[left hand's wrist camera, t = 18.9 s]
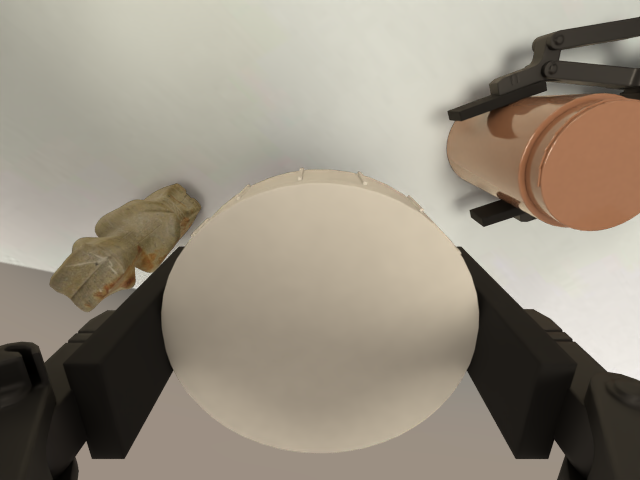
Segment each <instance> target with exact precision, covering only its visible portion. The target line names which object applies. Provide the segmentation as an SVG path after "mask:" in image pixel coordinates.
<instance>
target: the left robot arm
mask: <svg viewBox="0 0 640 480" xmlns="http://www.w3.org/2000/svg"><path fill="white" fill-rule="evenodd" d="M184 248H185V247H178V248H177V249H176V250H175V251H174V252H173V253H172V254H171V255H170V256H169V257H168V258H167V259H166V260H165V261H164V262H163V263H162V264H161V265H160V266H159V267H158V268H157V269H156V270H155V271H154V272H153V273H152V274H151V275H150V276H149V277H148V278H147V279H146V280H145V281H144V282H143V283H142V284H141V285H140V286H139V287H138V288H137V289H136V290H135V292H134V293H132V294H131V295H130V296H129V298H128V299H127V300H126V301H125V302H124V303H123V304H122V305H121V306H120V307H119V308H118V309H117V310H107V311H105V312H104V313H102V314H100V315H98V316H96V317H95V318H93V319H91V320H90V321H89V322H88V323H87V324H85V325H84V326H83V327H82V328H81V329H80V330H79V331H78V333H76V334H75V335H74V336H73V337H72V338H70V339H69V340H68V343H65V344H64V345H63V346H62V347H61V348H60V349H59V350H58V351H57V352H56V353H55V354H53V355H52V356H51V357H50V358H49V359H48V360H47V361H46V362H45V363H44V361H43V358H42V355H41V352H40V349H39V346H37V345H36V344H34V343H31V342H17V343H10V344H5V345H2V346H0V480H78V472H79V470H78V464H77V461H76V458H75V456H76V455H77V453H78V452H79V450H80V449H81V448H82V446H83V445H84V443H85V442H86V441H87V444H88V447H89V451H90V454H91V457H92V459H125V457H126V455H127V453H128V452H129V450H130V448H131V446H132V444H133V442H134V441H135V439H136V437H137V435H138V433H139V432H140V430H141V428H142V426H143V424H144V422H145V421H146V419H147V417H148V415H149V414H150V412H151V410H152V408H153V406H154V404H155V403H156V401H157V399H158V397H159V395H160V394H161V392H162V390H163V388H164V386H165V385H166V383H167V381H168V379H169V377H170V376H171V374H172V372H173V368H172V366H171V364H170V361H169V358H168V355H167V352H166V349H165V343H164V338H163V332H162V322H161V310H162V302H163V294H164V291H165V287H166V284H167V280H168V277H169V275H170V272H171V270H172V268H173V266H174V264H175V262H176V260H177V258H178V256H179V255H180V253H181V252H182V251H183V249H184ZM457 248H458V249H459V250H460V252H461V256H462V257H463V259H464V261H465V263H466V265H467V268H468V270H469V272H470V274H471V276H472V279H473V283H474V286H475V290H476V293H477V300H478V307H479V329H478V334H477V340H476V345H475V350H474V353H473V356H472V359H471V362H470V365H469V367H468V369H467V371H468V373H469V375H470V377H471V379H472V381H473V382H474V384H475V386H476V388H477V390H478V391H479V393H480V395H481V397H482V399H483V400H484V402H485V404H486V406H487V408H488V409H489V411H490V413H491V415H492V417H493V419H494V420H495V422H496V424H497V426H498V427H499V429H500V431H501V433H502V435H503V437H504V438H505V440H506V442H507V444H508V446H509V447H510V449H511V451H512V453H513V455H514V456H515V458H516V459H548V458H549V455H550V452H551V448H552V445H553V442H554V440H555V441H556V442H557V444H558V445H559V447H560V448H561V450H562V451H563V452H564V454H565V458H564V461H563V464H562V467H561V470H560V473H559V476H558V479H557V480H640V381H638V380H636V379H634V378H631V377H628V376H625V375H622V374H617V373H611V372H607V371H606V370H605V369H604V368H603V367H602V366H601V365H600V364H599V363H597V362H596V361H595V360H594V359H593V358H592V357H591V356H590V355H589V354H588V353H587V352H586V351H585V350H583V349H582V348H581V347H580V346H579V345H578V344H577V343H576V342H573V341H572V338H571V337H569V336H568V335H567V334H566V333H565V332H562V329H561V328H560V327H559V326H558V325H557V324H555V323H554V322H553V321H552V320H551V319H550V318H548V317H546V316H544V315H543V314H541V313H539V312H537V311H535V310H534V309H523V308H522V307H521V306H520V305H519V304H518V303H517V302H516V301H515V300H514V299H513V298H512V297H511V296H510V295H509V294H508V293H507V292H506V291H505V290H504V289H503V288H502V287H501V286H500V285H499V284H498V283H497V282H496V281H495V280H494V279H493V278H492V277H491V276H490V275H489V274H488V273H487V272H486V271H485V270H484V269H483V268H482V267H481V266H480V265H479V264H478V263H477V262H476V261H475V260H474V259H473V258H472V257H471V256H470V255H469V254H468V253H467V252H466V251H465V250H464V249H463V248H462V247H457Z"/></svg>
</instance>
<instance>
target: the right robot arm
mask: <svg viewBox="0 0 640 480" xmlns="http://www.w3.org/2000/svg"><path fill="white" fill-rule="evenodd" d="M638 36H640V17H637V18H631V19H625V20H619V21H613V22H607V23H602V24H596V25H590V26H584V27H578V28H572V29H566V30H560V31H557V32H553V33H550V34H547V35H544V36H540V37H538V38H536V39H535V40H534V42H533V44H532V50H533V51H534V56H533V60H532V62H531V63H530V65H528V66H526V67H525V68H523V69H521V70H518V71H515V72H513V73H510V74H508V75H505V76H502V77H499V78H497V79H495V80H493V81H492V82H491V83H490V84H489V86H490V91H491V95H490V96H487V97H485V98H482V99H479V100H476V101H474V102H471V103H468V104H466V105H463V106H460V107H457V108H455V109H452V110H449V111H448V116H449V120H453V121H464V120H467V119H470V118H472V117H475V116H478V115H481V114H483V113H486V112H489V111H492V110H494V109H497V108H500V107H503V106H505V105H508V104H511V103H514V102H516V101H519V100H522V99H525V98H527V97H530V96H533V95H536V94H538V93H541V92H544V91H547V87H546V82H557V83H567V84H577V85H587V86H598V87H606V88H611V89H621V90H624V92H622V93H620V96H623V97H625V98H628V99H635V100H640V68H628V67H618V66H608V65H598V64H588V63H578V62H568V61H559V57H560V52H561V50H564V49H570V48H576V47H582V46H588V45H594V44H600V43H606V42H612V41H618V40H624V39H628V38H633V37H638ZM470 214H471V218H473V219H474V220H475V221H477V222H478V223H479V224H481V225H482V226H483V227H485V226H488V225H491V224H494V223H497V222H500V221H503V220H506V219H509V218H512V217H514V218H516V219H517V220H519V221H521V222H528V221H531V220H533V219H537V218H535V217H534V216H532V215H530V214H528V213H526V212H524V211H522V210H520V209H518V208H516V207H514V206H513V205H511V204H509V203H507V202H505V201H503V200H499V201H496V202H493V203H490V204H487V205H484V206H481V207H478V208H475V209H472V210H470Z"/></svg>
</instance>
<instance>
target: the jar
mask: <svg viewBox="0 0 640 480" xmlns="http://www.w3.org/2000/svg"><path fill="white" fill-rule="evenodd" d="M447 156H448V160H449V163H450V165H451V167H452V169H453V170H454V172H455V173H456V174H457V175H458V176H459V177H460V178H462V179H463V180H465V181H467V182H469V183H471V184H472V185H474V186H476V187H478V188H480V189H482V190H484V191H486V192H488V193H490V194H492V195H493V196H495V197H497V198H499V199H501V200H503V201H505V202H507V203H509V204H511V205H513V206H514V207H516V208H518V209H520V210H522V211H524V212H526V213H528V214H530V215H532V216H534V217H535V218H537V219H539V220H541V221H543V222H545V223H547V224H550V225H553V226H558V227H567V228H573V229H576V230H581V231H598V230H604V229H608V228H612V227H615V226H617V225H620V224H622V223H624V222H626V221H628V220H630V219H632V218H633V217H635V216H636V215H638V214H639V213H640V100H635V99H628V98H625V97H623V96H620V95H616V94H608V93H596V94H570V95H545V96H530V97H527V98H525V99H522V100H519V101H516V102H514V103H511V104H508V105H505V106H503V107H500V108H497V109H494V110H492V111H489V112H486V113H483V114H481V115H478V116H475V117H472V118H470V119H467V120H464V121H455V123H454V124H453V126H452V128H451V131H450V133H449V136H448V141H447Z"/></svg>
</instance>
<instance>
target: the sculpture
mask: <svg viewBox="0 0 640 480" xmlns="http://www.w3.org/2000/svg"><path fill="white" fill-rule="evenodd" d="M200 209H201V205H200V204H199V203H198V202H197V201H196V200H195V199H194V198H190V197H189V195H187V194H186V190H185V189H184V188H183V187H182V186H181V185H179V184H178V183H176V184H174V185H170V186H167V187H164V188H162V189H160V190H158V191H156V192H154V193H152V194H151V195H150V196H148V197H147V198H146V199H145V200H133V201H130V202H128V203H126V204H125V205H123V206H121V207H120V208H118V209H116V210H114V211H112V212H110V213H108V214H106V215H105V216H103V217H102V218H101V219H100V220H99V221H98V223H97V224H96V227H95V232H96V235H97V236H98V237H99V238H98V237H85V238H80V239H78V240H77V241H76V242H75V243H74V245H73V248H72V254H71V255H70V256H69V257H68V258H67V259H66V260H65V261H64V262H63V264H62V265H61V266H60V267H59V268H58V270H57V271H56V272H55V273H54V274H53V276H52V277H51V280H50V286H51V287H52V288H53V289H54V290H55V291H57V292H59V293H61V294H64V295H66V296H68V297H69V298H70V299H71V300H72V301H73V302H74V304H75V305H76V306H77V307H79V308H80V309H81V310H83V311H85V312H90V311H91V310H92V309H94V308H95V307H96V306H97V305H98V304H99V303H100V302H101V301H102V300H103V299H104V298H106V297H107V296H109V295H111V294H113V293H115V292H117V291H120V290H124V289H130V288H132V287H133V286H134V285H135V282H136V279H135V267H136V268H138V269H140V270H142V271H145V272H149V273H152V272H154V271H155V270H156V269H157V268H158V267H159V266H160V265H161V263H162V262H163V260H164V259H165V258H166V256H167V255H168V254H169V252H170V251H171V250H172V249H173V248H174V246H175V245H176V243H177V242H178V241H179V240H180V238H181V237H182V236H183V235H184V234H185V233H186V232H187V230H188V229H189V228H190V226H191V225H192V223H193V222H194V220H195V218H196V216H197V214H198V212H199V211H200Z"/></svg>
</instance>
